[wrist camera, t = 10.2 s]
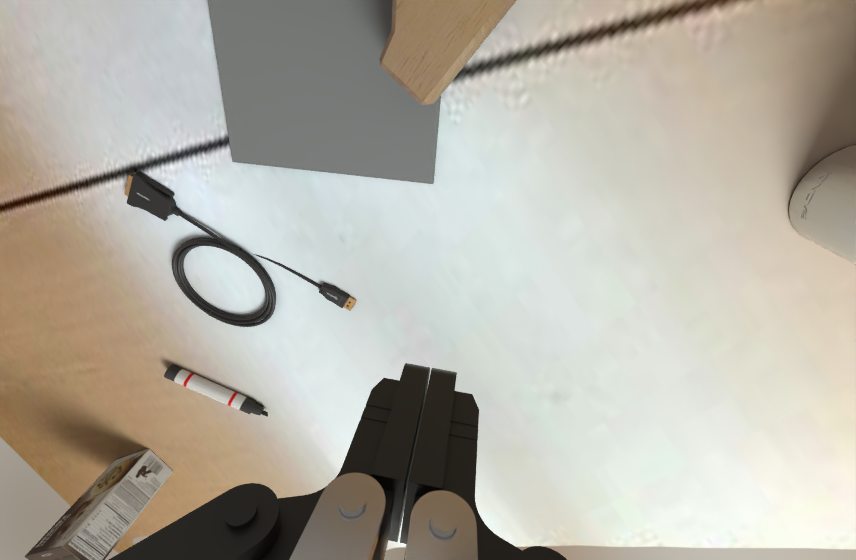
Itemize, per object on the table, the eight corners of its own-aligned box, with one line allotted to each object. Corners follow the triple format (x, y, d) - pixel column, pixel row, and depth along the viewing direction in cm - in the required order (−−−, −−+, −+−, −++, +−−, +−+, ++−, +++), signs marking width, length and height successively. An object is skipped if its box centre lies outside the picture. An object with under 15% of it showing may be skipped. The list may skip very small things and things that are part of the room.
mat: (452, -43, 32) (451, -44, 31) (433, 182, 40) (433, 183, 40) (202, -60, 33) (198, -61, 33) (235, 160, 42) (232, 161, 41)
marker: (172, 370, 58) (163, 380, 56) (174, 361, 57) (164, 371, 55) (270, 413, 60) (263, 423, 58) (273, 405, 59) (267, 415, 57)
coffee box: (141, 481, 72) (57, 581, 58) (114, 458, 70) (20, 557, 56) (175, 471, 69) (95, 574, 55) (149, 447, 67) (59, 548, 53)
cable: (314, 366, 54) (309, 373, 53) (117, 257, 50) (107, 262, 49) (358, 297, 48) (355, 303, 47) (138, 166, 44) (127, 169, 43)
